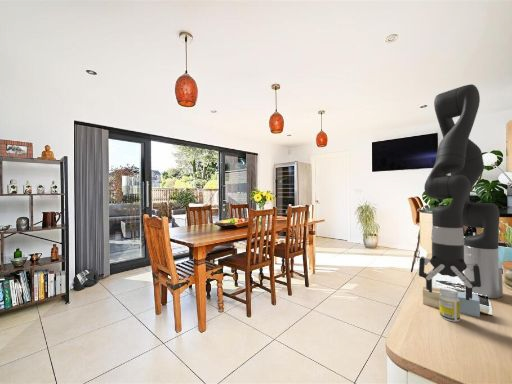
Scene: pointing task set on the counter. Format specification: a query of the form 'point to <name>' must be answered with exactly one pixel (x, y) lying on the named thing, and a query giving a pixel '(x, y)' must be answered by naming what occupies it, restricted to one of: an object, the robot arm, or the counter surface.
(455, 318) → the supplement bottle
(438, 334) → the counter surface
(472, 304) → the slate cube
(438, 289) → the beech cube
